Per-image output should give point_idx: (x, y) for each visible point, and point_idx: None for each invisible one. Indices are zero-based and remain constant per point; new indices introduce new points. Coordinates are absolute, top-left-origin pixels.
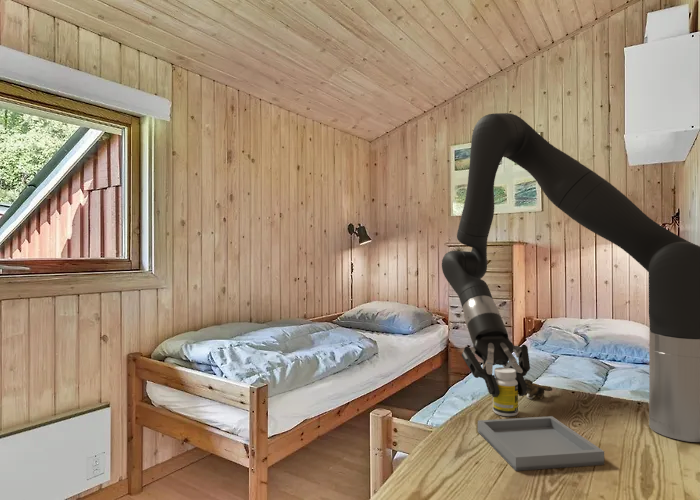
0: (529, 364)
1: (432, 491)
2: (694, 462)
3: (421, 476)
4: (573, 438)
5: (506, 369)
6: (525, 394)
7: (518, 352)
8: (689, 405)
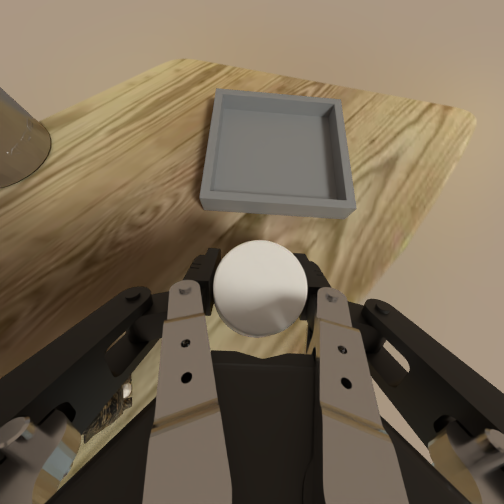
0: (102, 306)
1: (431, 106)
2: (103, 91)
3: (442, 129)
4: (218, 139)
5: (252, 287)
6: (129, 398)
7: (45, 443)
8: None
